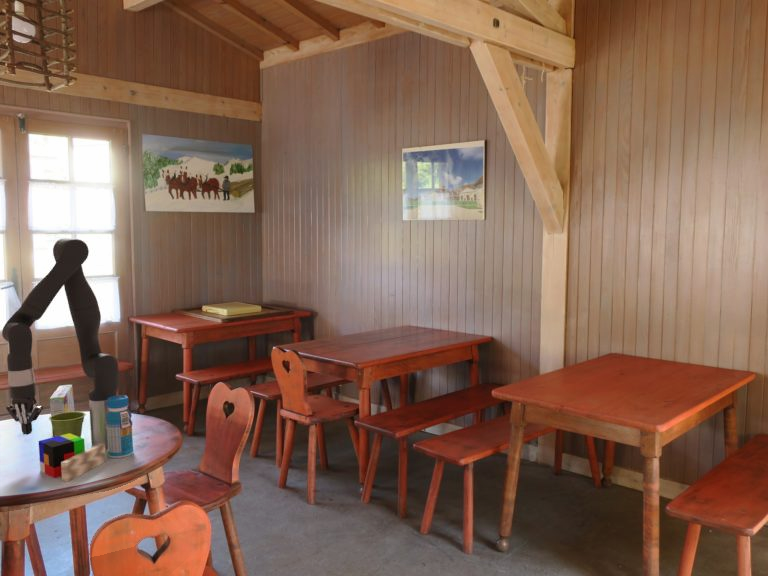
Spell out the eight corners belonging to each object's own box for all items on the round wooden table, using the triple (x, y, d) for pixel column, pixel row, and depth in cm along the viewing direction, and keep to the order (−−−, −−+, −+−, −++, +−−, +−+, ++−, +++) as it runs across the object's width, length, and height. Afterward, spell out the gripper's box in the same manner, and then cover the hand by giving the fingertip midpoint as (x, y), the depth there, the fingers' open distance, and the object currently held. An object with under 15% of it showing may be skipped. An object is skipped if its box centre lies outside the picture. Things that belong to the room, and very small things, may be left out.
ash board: (100, 461, 219) (99, 443, 219) (105, 461, 219) (104, 443, 218) (62, 481, 202) (60, 462, 201) (67, 481, 201) (66, 462, 201)
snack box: (60, 421, 267) (58, 385, 266) (75, 420, 269) (73, 384, 267) (51, 437, 247) (48, 397, 246) (67, 435, 249) (65, 396, 247)
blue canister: (105, 460, 220) (102, 401, 219) (109, 451, 228) (106, 395, 227) (132, 457, 223) (129, 399, 221) (135, 449, 231) (132, 393, 229)
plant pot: (73, 452, 228) (71, 421, 227) (43, 451, 231) (41, 419, 230) (94, 442, 240) (92, 411, 239) (65, 440, 242) (64, 410, 241)
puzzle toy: (40, 471, 211) (38, 440, 210) (71, 462, 219) (69, 433, 218) (54, 478, 205) (52, 447, 204) (85, 469, 212) (84, 438, 212)
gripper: (47, 380, 216) (52, 430, 218) (14, 378, 219) (19, 429, 221) (30, 386, 209) (35, 438, 211) (-4, 384, 212) (1, 436, 214)
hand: (27, 433), depth 216 cm, fingers closed
